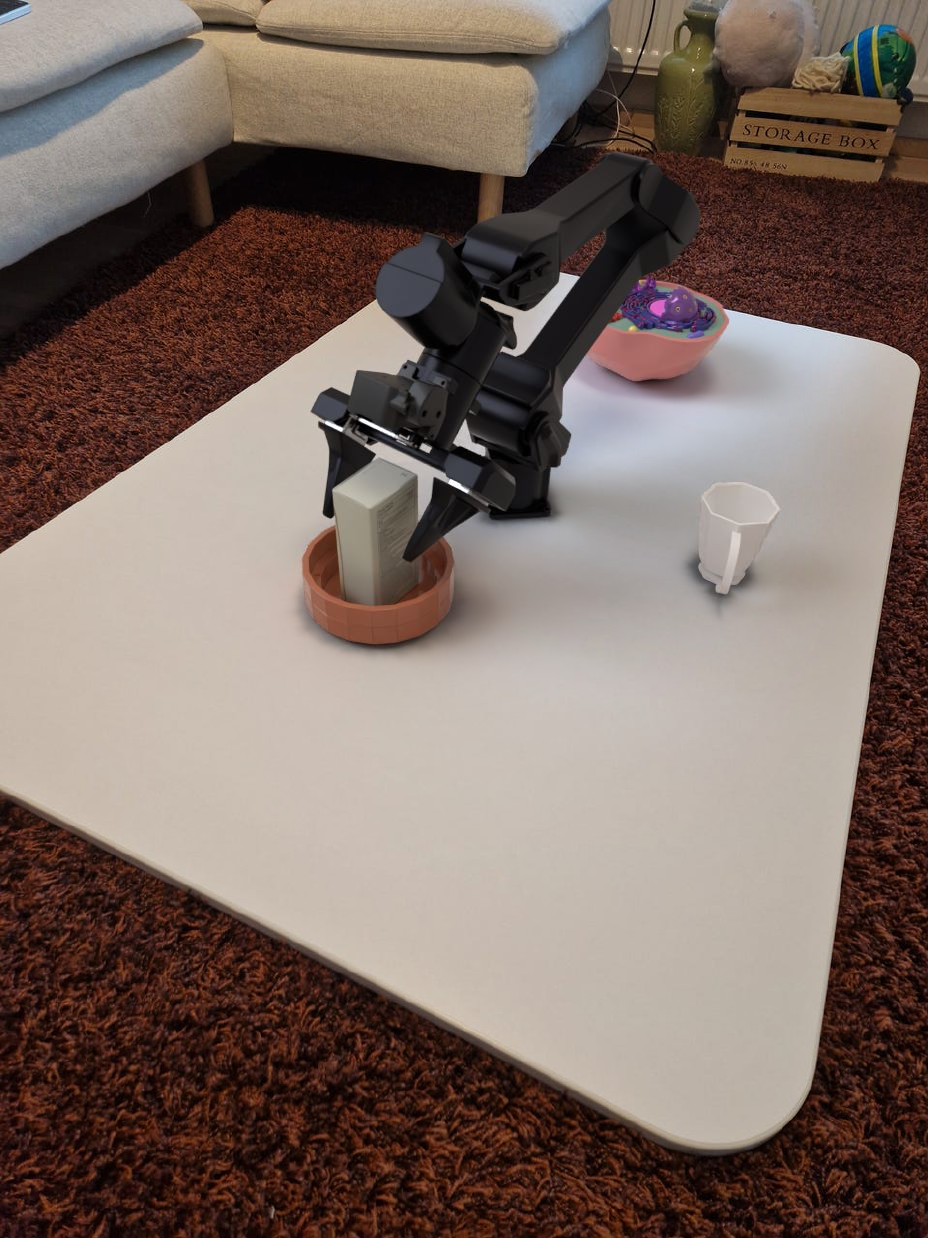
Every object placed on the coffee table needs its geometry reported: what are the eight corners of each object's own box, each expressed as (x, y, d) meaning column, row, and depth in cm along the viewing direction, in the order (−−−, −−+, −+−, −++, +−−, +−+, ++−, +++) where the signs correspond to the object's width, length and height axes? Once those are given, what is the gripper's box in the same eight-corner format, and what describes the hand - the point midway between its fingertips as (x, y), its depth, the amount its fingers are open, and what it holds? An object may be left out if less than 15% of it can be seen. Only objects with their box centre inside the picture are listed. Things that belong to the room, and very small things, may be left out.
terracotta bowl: (443, 549, 89) (443, 511, 86) (461, 643, 79) (463, 604, 76) (305, 558, 87) (301, 519, 84) (307, 654, 78) (302, 615, 75)
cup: (759, 556, 89) (781, 487, 84) (756, 622, 82) (780, 552, 77) (687, 543, 91) (703, 474, 85) (678, 607, 83) (695, 537, 78)
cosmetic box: (384, 565, 86) (379, 454, 78) (421, 584, 84) (420, 472, 76) (338, 600, 82) (329, 487, 74) (376, 621, 80) (371, 507, 72)
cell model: (602, 325, 127) (613, 241, 119) (737, 367, 118) (758, 281, 111) (537, 370, 117) (544, 282, 109) (679, 420, 108) (698, 329, 101)
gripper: (317, 294, 73) (229, 468, 74) (502, 367, 65) (401, 563, 66) (386, 352, 83) (309, 505, 84) (555, 422, 75) (467, 592, 76)
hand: (365, 538), depth 77 cm, fingers open, 9 cm apart
